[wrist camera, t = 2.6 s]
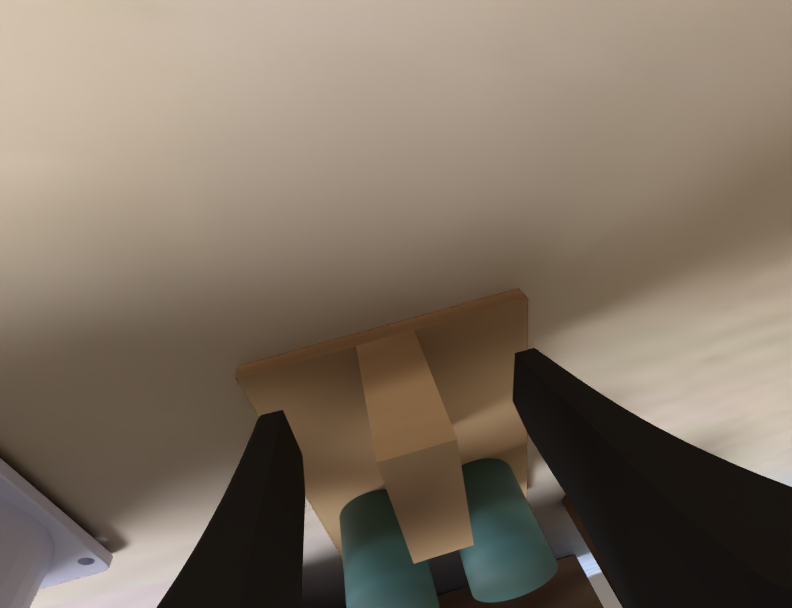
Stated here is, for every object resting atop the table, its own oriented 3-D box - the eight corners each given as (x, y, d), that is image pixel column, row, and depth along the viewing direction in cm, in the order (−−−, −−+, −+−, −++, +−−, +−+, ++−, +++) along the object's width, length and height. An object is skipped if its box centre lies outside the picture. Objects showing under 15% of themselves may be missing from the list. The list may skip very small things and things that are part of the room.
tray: (240, 356, 12) (209, 511, 8) (513, 282, 13) (612, 393, 9) (341, 537, 19) (351, 671, 15) (517, 483, 20) (574, 599, 16)
